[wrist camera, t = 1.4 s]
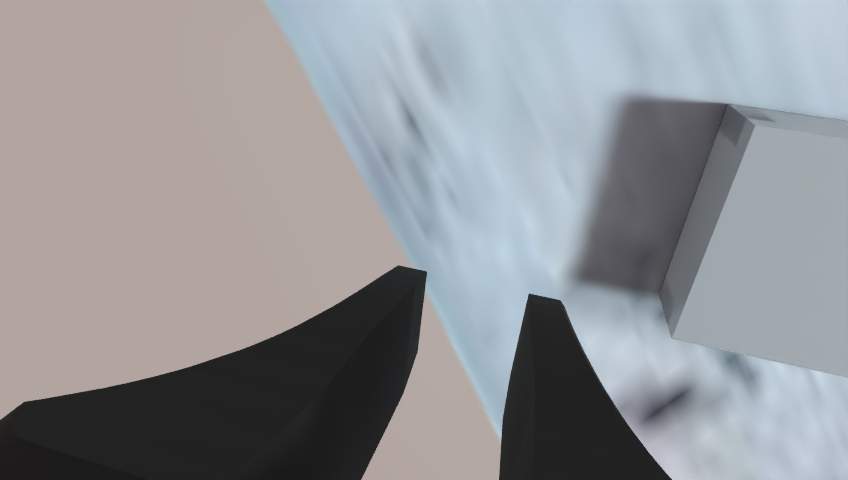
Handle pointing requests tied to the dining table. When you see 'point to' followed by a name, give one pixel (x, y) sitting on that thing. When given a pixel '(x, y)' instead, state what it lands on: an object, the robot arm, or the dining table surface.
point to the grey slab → (767, 243)
